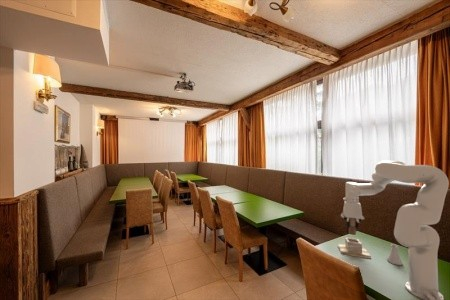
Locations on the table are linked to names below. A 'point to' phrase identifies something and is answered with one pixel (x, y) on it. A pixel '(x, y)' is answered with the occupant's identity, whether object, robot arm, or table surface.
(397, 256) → the flask
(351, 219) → the dowel
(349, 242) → the socket block
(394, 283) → the table surface
